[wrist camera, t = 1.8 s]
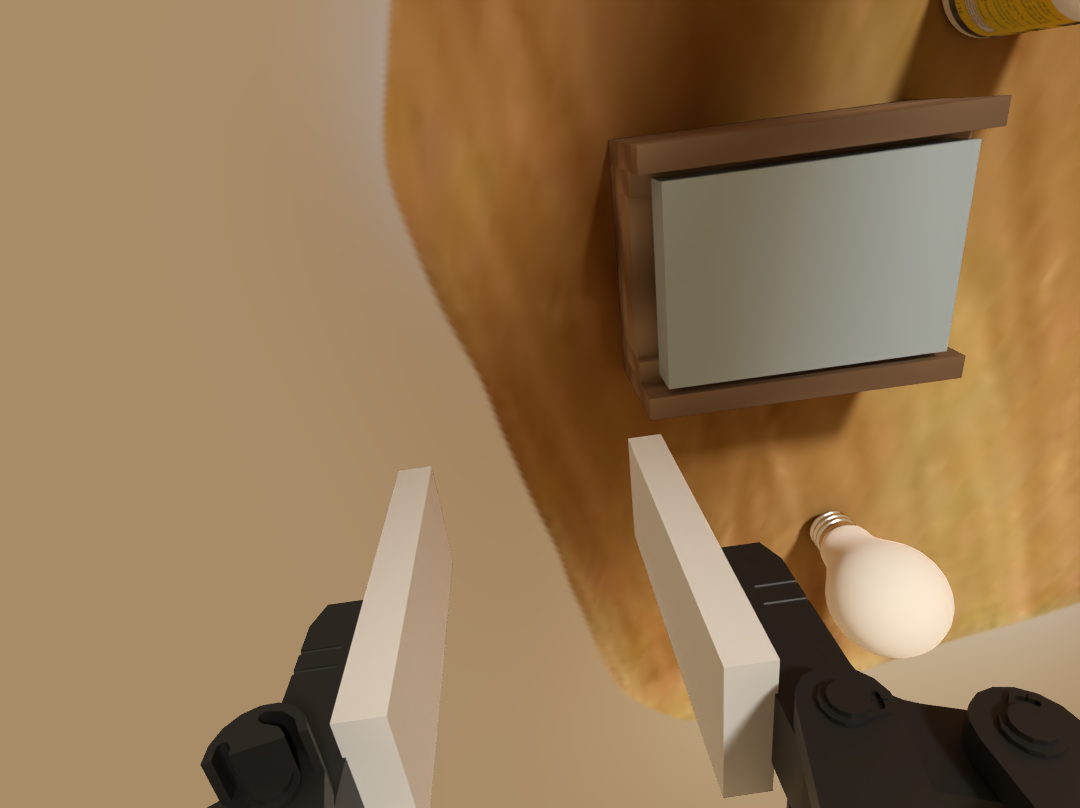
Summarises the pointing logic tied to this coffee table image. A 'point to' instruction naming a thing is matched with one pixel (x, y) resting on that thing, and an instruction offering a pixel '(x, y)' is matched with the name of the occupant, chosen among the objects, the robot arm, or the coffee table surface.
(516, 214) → the coffee table surface
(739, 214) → the cover plate
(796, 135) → the walnut box
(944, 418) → the coffee table surface
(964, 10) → the supplement bottle
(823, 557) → the light bulb
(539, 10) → the coffee table surface
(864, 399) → the coffee table surface
